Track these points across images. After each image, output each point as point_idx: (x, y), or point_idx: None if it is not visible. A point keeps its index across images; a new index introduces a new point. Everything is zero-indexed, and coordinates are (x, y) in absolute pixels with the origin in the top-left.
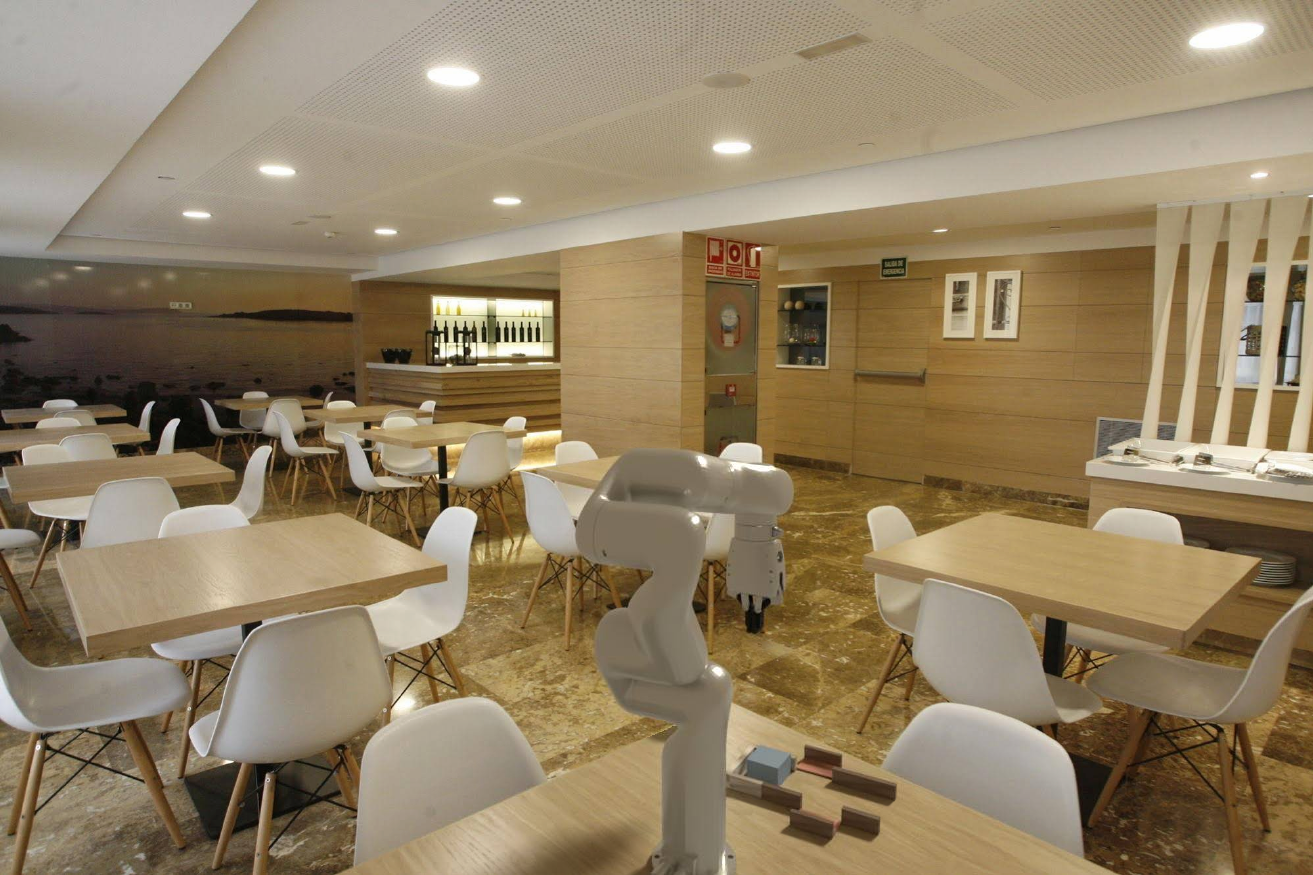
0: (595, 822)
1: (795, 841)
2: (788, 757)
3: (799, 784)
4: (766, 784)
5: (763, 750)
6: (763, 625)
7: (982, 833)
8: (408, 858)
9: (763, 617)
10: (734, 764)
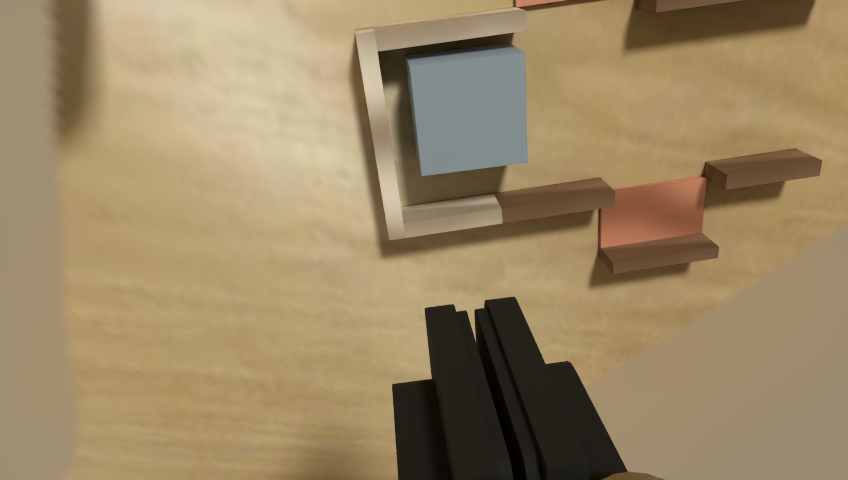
0: (251, 477)
1: (628, 292)
2: (524, 74)
3: (555, 83)
4: (514, 214)
5: (438, 95)
6: (568, 366)
7: None
8: None
9: (602, 434)
10: (384, 184)
